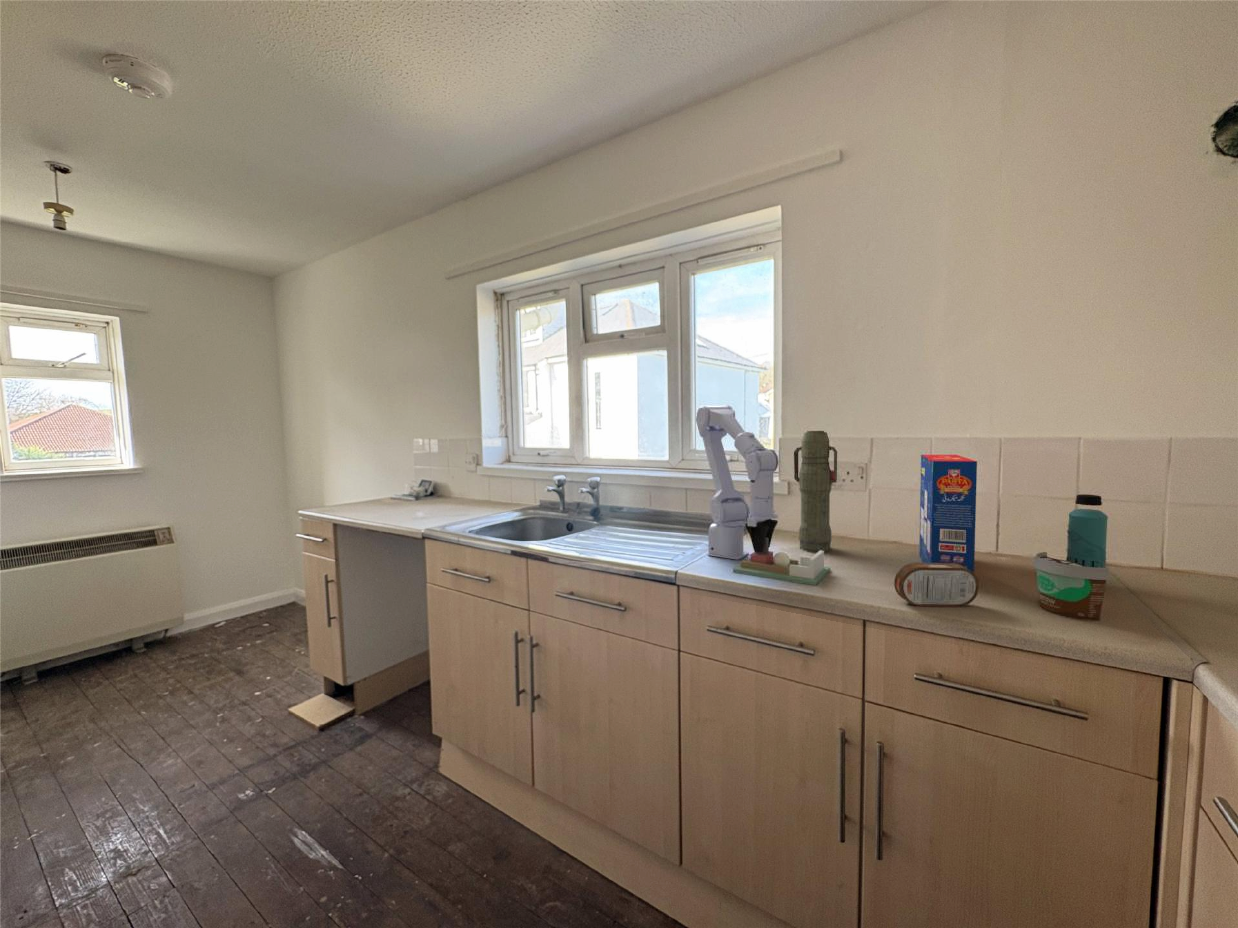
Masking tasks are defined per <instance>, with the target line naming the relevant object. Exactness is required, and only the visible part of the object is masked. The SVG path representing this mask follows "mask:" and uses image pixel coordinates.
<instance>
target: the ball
mask: <svg viewBox="0 0 1238 928" xmlns="http://www.w3.org/2000/svg"><path fill="white" fill-rule="evenodd" d="M790 559H791V558H790V557H789V555H788V554H787V553H785V552H781V551H780V552H777V553H775V554H773V563H774V564H775V565H778V566H785V567H787V566H788V565H789V563H790Z"/></svg>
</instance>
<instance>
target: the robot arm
mask: <svg viewBox="0 0 1238 928" xmlns="http://www.w3.org/2000/svg"><path fill="white" fill-rule="evenodd" d="M695 422H696V425H697V430H698V434H699V436H700V437H701V438H702V441H703V442H702V443H703V446H704V450H705V454H706V457H707V462H708V465H709V468H710V472H711V477H712V481H713V485H714V488H715V492H716V493H715V494H714V495H713V496H712V498H711V499H710V501H709V503H710V517H711V519H712V521H713V522H714V523H711V524H710V525H709V528H708V534H707V535H708V538H707V540H708V542H707V543H708V544H707V545H708V552H707V556H710V557H711V556H712V557H716V558H723V559H724V558H725V559H733V560H740V559H742V558H744V557H745V556H747V555H749V552H748V551H745V550H744V526H745V529H746V530H747V532H748V534H749V536H750V540H751V541H750V542H751V544H752V549H753V551H754V552H755V551H756V552H763V549H764V543H765V537H766V538H769V548H770V547H771V544H772V537H773V535H774V531H775V528H776V527H777V525H778V523H779V522H778V520H777V519H778V518H779V514H775V512H776V511H775V510H774V472H776V470H777V469H778V467H779V457H778V456H779V455H778V454H777V452H776V451H775V450H774V449H772V448H771V449H770V448H769V449H768V448H767V447H765V446H764V445H763V444H762V443H761V441H760V440H758V438H756V436H755V434H754V433H753V432H749V431H745V430H744V428H743V426H741V424H740V422H739V421H738V420H737V418H736V411H735V410H734V408H733V407H732V406H731V405H727V404H726V405H701V406H700V407H699V408H698V410H697V412H696V416H695ZM727 435H729V436H730V437H731V438H732V439H733V440H734V442H733V444H734V445H733V446H734V448H735V449H736V450H737V451H738V452H739V454H740V455H741V457H743V458H744V460H745V461H744V464H745V469H746V472H747V477H748V480H749V487H750V488H749V496H750V497H749V500H750V501H749V504H748V502H747V501H746V499H745V495H744V494H743V493H741V492H740V491H738V490H737V489H735V486H734V481H733V478H732V475H731V470H730V468H729V464H728V461H727V456H726V452H725V450H724V446H723V445H724V444H723V442H722V439H723V438H725V437H726V436H727ZM749 505H750V506H749Z"/></svg>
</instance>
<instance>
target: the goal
mask: <svg viewBox="0 0 1238 928" xmlns="http://www.w3.org/2000/svg"><path fill="white" fill-rule="evenodd" d="M799 563H800V566H799V565H792V564H790V565H789V575H791V576H797V577H804V578H810V579H814V578H815V577H816V576H817V575H818V574H819V573H820V572H821V571H822V570H823V569H824V567H825V552H824V551H821V550H820V551H819V552H815V554H814V555H812V556H805V555H800V562H799Z"/></svg>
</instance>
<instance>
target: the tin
mask: <svg viewBox="0 0 1238 928" xmlns="http://www.w3.org/2000/svg"><path fill="white" fill-rule="evenodd" d="M893 582H894V583H893V585H894V590H895V592H896V594H897V595H898V596H899V598H901V599H903V600H904V601H906V602H907V603H909V604H911V605H912V606H915V607H916V606H917V607H948V608H950V607H951V608H954V607H955V608H956V607H957V608H960V607H964V606H967V605H969V604H971V603H972V602H973V601H974V600H975V599H976V597H977V596H978V593H979V590H980V582H979V578H978V577H977V576H976V575H975V572H974V573H973V572H971V571H970V570H968V569H967V568H966V567H964V566H962V565H960V564H956V563H923V562H912V563H908V564H906V565H904V566H902V567H901V568H900V569H899V570H898V571H897V573H896V575H895V577H894V581H893Z"/></svg>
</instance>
